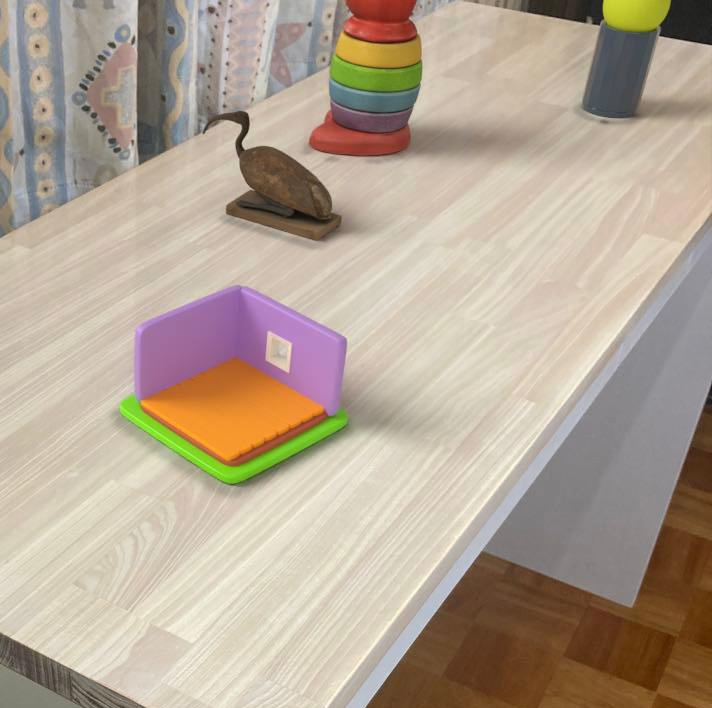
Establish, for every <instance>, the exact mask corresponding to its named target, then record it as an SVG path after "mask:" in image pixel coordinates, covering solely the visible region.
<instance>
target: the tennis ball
mask: <svg viewBox="0 0 712 708" xmlns="http://www.w3.org/2000/svg"><path fill="white" fill-rule="evenodd" d="M602 2H603V3H602V15H603V20H604V19H605V21H606V23H607V25H608V26H610V27H612V28H615V29H618V30H624V31H631V32H649V31H653V30H654V29H656V28H657V27H658V26H660V25H661V24H662V23H663V21H664V20H665V19H666V16H667V15H668V13H669V10H670V7H671V2H672V0H603V1H602Z"/></svg>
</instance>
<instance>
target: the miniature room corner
mask: <svg viewBox="0 0 712 708" xmlns="http://www.w3.org/2000/svg"><path fill="white" fill-rule="evenodd" d="M280 344H283V345H284V346H286V347H287V353H286V356H284V355H282V354H280V353H279V351H280ZM347 350H348V339H347V337H346V336H344V335H342V334H341V333H339V332H337V331H335V330H334V329H331V328H329V327H327V326H325V325H324V324H322V323H320V322H318V321H316V320H314V319H312V318H311V317H308V316H306V315H304V314H303V313H301V312H298V311H296V310H295V309H293V308H290V307H289V306H287V305H285V304H283V303H281V302H279V301H277V300H275V299H273V298H271V297H270V296H267V295H266V294H264V293H261V292H259V291H258V290H256V289H254V288H251V287H249V286H247V285H238V284H235V285H232V286H228V287H226V288H223V289H221V290H218V291H215V292H213V293H210V294H208V295H206V296H203V297H200V298H197V299H196V300H193V301H190V302H188V303H186V304H183V305H182V306H179V307H177V308H174V309H172V310H170V311H167V312H164V313H162V314H160V315H157V316H154V317H152V318H150V319H148V320H146V321H144V322H142V323H140V324H139V325H138V326H137V327H136V329H135V333H134V353H133V354H134V355H133V356H134V357H133V360H134V362H133V363H134V365H133V367H134V369H133V371H134V373H133V374H134V378H133V379H134V393H133V394H131V395H129V396H128V397H125V398H124V399H123V400H121V401H120V403H119V412H120V414H121V415H122V416H123V417H125V418H126V419H127V420H129V421H130V422H132V424H134V425H136V426H137V427H139V428H140V429H141V430H143V431H144V432H146V433H147V434H149V435H151V436H152V437H153V438H155V439H156V440H157V441H159V442H161V443H162V444H164V445H165V446H166V447H168V448H170V449H171V450H172V451H175V452H176V453H177V454H178V455H180V456H182V457H183V458H184V459H186V460H188V461H189V462H190V463H192V464H194V465H195V466H197V467H199V468H200V469H202V470H203V471H204V472H206V473H207V474H209V475H211V476H212V477H214V478H215V479H217V480H219V481H221V482H223V483H225V484H228V485H229V484H230V485H234V484H239V483H241V482H244V481H246V480H247V479H251V478H252V477H253V476H256V475H258V474H259V473H262V472H264V471H265V470H267V469H269V468H271V467H273V466H275V465H276V464H278V463H280V462H282V461H284V460H286V459H288V458H290V457H291V456H293V455H295V454H297V453H299V452H301V451H303V450H304V449H307V448H308V447H310V446H312V445H314V444H316V443H318V442H320V441H322V440H323V439H325V438H327V437H328V436H330V435H332V434H334V433H336V432H337V431H339V430H341V429H342V428H344V427H345V426H346V425H347V424H348V421H349V414H348V412H346V410H345V409H343V408H342V407H340V402H341V396H342V388H343V381H344V372H345V367H346V359H347Z"/></svg>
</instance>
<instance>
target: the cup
mask: <svg viewBox="0 0 712 708" xmlns="http://www.w3.org/2000/svg"><path fill="white" fill-rule="evenodd" d="M661 30H662V28H661V26H660V25H659V26H658V27H657V28H656V29H654V30H653V31H649V32H631V31H624V30H618V29H615V28H612V27H610V26H608V25H607V23H606V21H605V19H604V18H603V19H602V20H601V21H600V23H599V28H598V32H597V36H596V41H595V45H594V48H593V52H592V57H591V59H590V60H591V61H590V64H589V67H588V73H587V77H586V79H585V80H586V81H585V84H584V89H583V92H582V97H581V102H580V106H581V108H582V109H583V110H584V111H586V112H588V113H589V114H593V115H595V116H599V117H607V118H613V119H614V118H617V119H618V118H619V119H620V118H621V119H622V118H623V119H624V118H630V117H633V116H635V115H636V114H637V113H638V111H639V108H640V105H641V102H642V98H643V95H644V91H645V88H646V84H647V81H648V77H649V73H650V70H651V66H652V63H653V60H654V56H655V52H656V49H657V45H658V41H659V38H660V33H661Z"/></svg>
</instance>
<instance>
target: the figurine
mask: <svg viewBox="0 0 712 708" xmlns="http://www.w3.org/2000/svg"><path fill="white" fill-rule="evenodd" d="M217 121H229V122H233V123H235V124H238V125H240V126H241V129H240V132H239V134H238V136H237V137H236V139H235V144H234V146H235V147H234V148H235V151H236V156H237V157H238V162H239V164H238V165H239V170H240V173H241V174H242V177H243V178H244V181H245V184H246V185H247V186H248V187H249V188H250V189H249V190H247V191H245V192H244V193H243V194H241V195H240V196H238V197H236V198H235V199H233V200H232V201H230V202H229V203H227V204H226V205H225V213H226V214H227V215H231V216H233V217H237V218H241V219H244V220H248V221H251V222H254V223H257V224H261V225H263V226H266V227H270V228H274V229H277V230H280V231H284V232H287V233H289V234H292V235H297V236H300V237H303V238H307V239H310V240H314V241H317V240H319V239H320V238H321V239H322V237H324V236H325V235H327V234H328V233H330V232H331V231H333V230H334V229H335V228H336V227H338V226H339V225H340V224H342V218H343V217H342V215H341V214H338V213H334V212H332V211H333V200H332V196H331V193H330V191H329V190H328V189H327V188H326V186H325V185H324V184H323V183H322V182H321V180H320V179H319V178H318V177H317V176H316V175H315V174H314V173H313V172H312V171H310V170H309V169H308V168H307V167H306V166H304V165H303V164H301V162H298V160H296V159H295V158H294V157H292V156H291V155H289V154H287V153H286V152H284V151H282V150H280V149H278V148H275V147H274V146H269V145H257V146H254V147H250V148H247V149H245V148H244V146H243V141H244V140H245V138H246V137H247V135H248V133H249V130H250V125H251V124H250V114H249V113H248V112H247V111H244V110H237V111H233V112H223V113H221V114H217V115H214V116H213V117H211V118H210V119H209V120H208V121H207V123H206V124H205V126H204V128H203V130H202V134H203V135H205V134H206V132H207V130H208V128H209V127H210V125H211V124H212V123H214V122H217Z"/></svg>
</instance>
